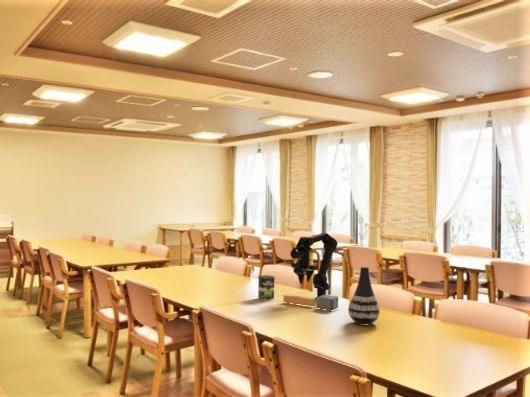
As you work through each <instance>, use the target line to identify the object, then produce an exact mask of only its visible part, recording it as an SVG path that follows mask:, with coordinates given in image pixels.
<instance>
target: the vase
mask: <svg viewBox="0 0 530 397" xmlns="http://www.w3.org/2000/svg"><path fill="white" fill-rule="evenodd" d="M359 271H360V273H359V276H358V277H359V278H358V282H357V285H356V289H355V291H354V294H353V296H352V298H351V300H350V302H349V304H348V315H349V317H350V319H351V320H352V321H354V322H355V323H356V324H357V323H359V324H370V325H371V324H374V323H375V322H377V320H378V319H379V316H380V312H381V311H380V305H379V303H378V301H377V298H376V296H375V293H374V290H373V286H372V283H371V282H372V281H371V276H370V269H369V267H368V266H361V267H360V270H359ZM359 324H358V325H359Z"/></svg>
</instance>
